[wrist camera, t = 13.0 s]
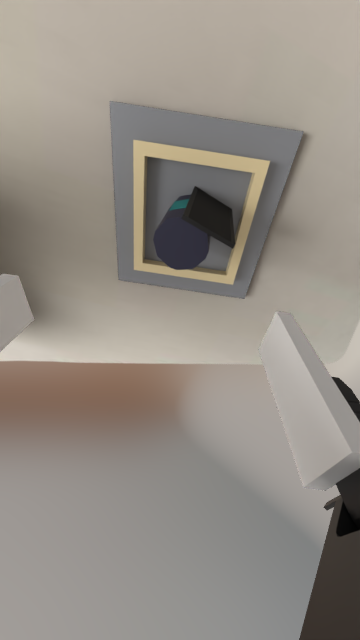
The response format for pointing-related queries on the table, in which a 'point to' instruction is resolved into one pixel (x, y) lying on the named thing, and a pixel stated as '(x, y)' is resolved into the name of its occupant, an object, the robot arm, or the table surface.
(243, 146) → the mount board
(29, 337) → the table surface
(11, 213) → the table surface
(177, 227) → the speaker
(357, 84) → the table surface
